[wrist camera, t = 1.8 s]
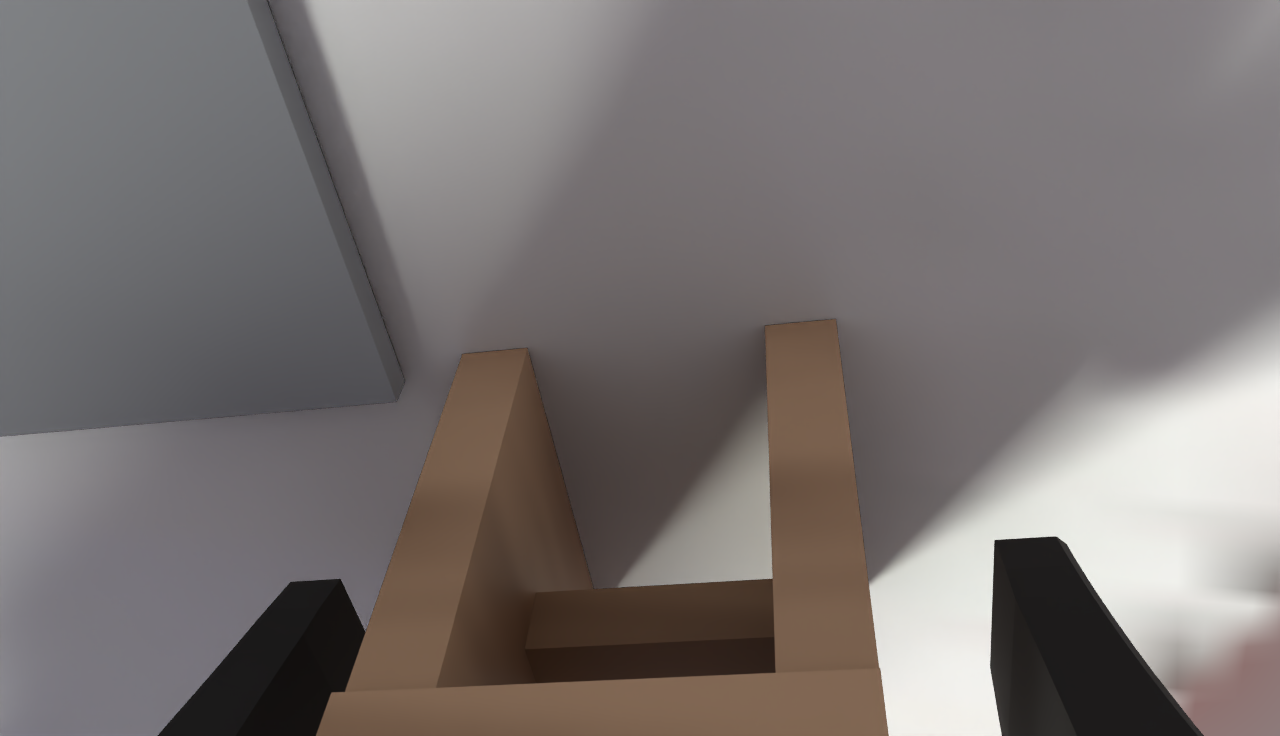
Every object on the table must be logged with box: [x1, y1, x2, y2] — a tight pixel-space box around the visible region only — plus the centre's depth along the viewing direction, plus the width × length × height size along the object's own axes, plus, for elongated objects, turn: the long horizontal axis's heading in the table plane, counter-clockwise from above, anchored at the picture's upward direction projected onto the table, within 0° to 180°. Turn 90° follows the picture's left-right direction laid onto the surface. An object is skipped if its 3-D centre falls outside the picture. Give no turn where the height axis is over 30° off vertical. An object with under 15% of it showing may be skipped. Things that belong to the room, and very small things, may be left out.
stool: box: [316, 319, 889, 736], centre depth 12 cm, size 5×4×6 cm
